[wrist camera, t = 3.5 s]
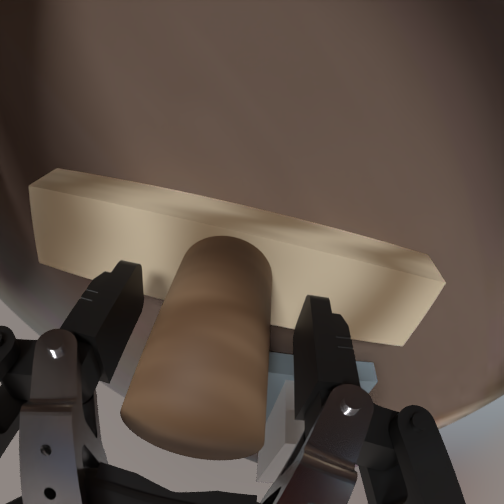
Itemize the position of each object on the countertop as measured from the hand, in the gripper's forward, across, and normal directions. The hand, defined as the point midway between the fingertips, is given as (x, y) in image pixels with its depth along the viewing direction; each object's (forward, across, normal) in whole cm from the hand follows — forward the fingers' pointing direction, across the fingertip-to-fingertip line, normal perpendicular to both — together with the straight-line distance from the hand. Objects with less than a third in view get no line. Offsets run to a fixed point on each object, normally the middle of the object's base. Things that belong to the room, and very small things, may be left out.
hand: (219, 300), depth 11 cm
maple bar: (+4, 0, 0) cm, 4 cm away
